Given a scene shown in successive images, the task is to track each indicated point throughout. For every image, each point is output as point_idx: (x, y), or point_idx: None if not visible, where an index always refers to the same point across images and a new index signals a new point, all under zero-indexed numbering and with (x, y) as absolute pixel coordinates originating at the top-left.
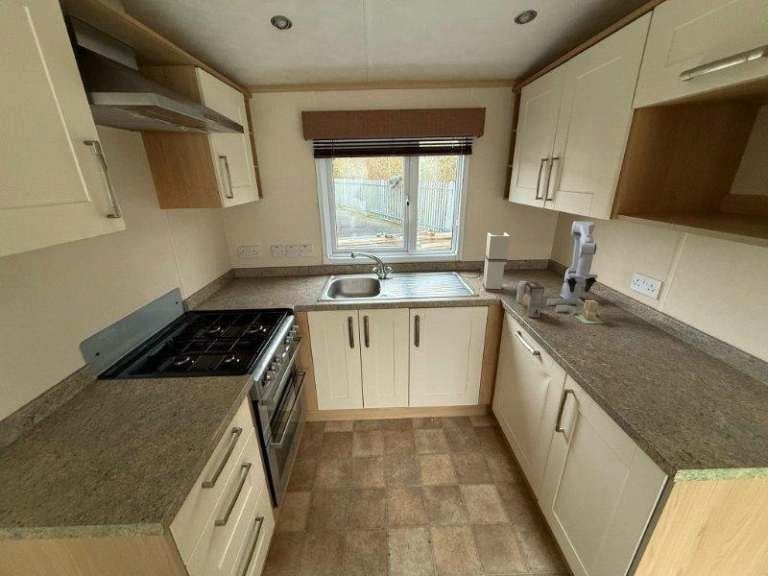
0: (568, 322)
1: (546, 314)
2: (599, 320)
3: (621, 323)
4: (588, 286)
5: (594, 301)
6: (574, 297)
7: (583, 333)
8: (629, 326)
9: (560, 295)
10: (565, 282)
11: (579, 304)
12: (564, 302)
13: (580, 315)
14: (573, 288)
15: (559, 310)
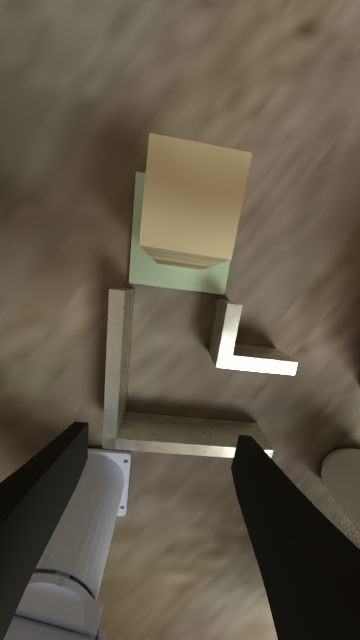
0: (310, 225)
1: (339, 332)
2: (140, 206)
3: (35, 154)
4: (29, 509)
5: (161, 197)
6: (92, 468)
7: (343, 71)
8: (14, 103)
9: (126, 505)
10: (103, 633)
11: (123, 391)
12: (179, 426)
13: (195, 285)
14: (284, 483)
15: (266, 349)
